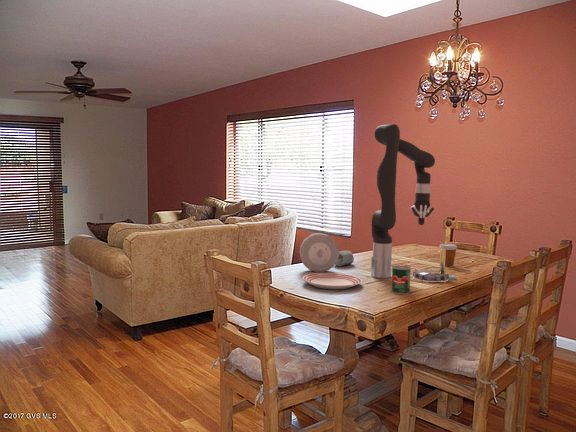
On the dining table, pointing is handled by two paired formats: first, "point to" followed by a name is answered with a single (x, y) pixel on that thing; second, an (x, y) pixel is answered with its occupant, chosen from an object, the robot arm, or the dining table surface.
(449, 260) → the disposable coffee cup
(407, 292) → the canned tomato
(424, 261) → the dining table surface
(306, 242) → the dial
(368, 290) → the dining table surface
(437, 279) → the sprocket
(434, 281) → the sprocket base plate
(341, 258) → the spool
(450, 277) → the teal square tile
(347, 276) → the dinner plate
